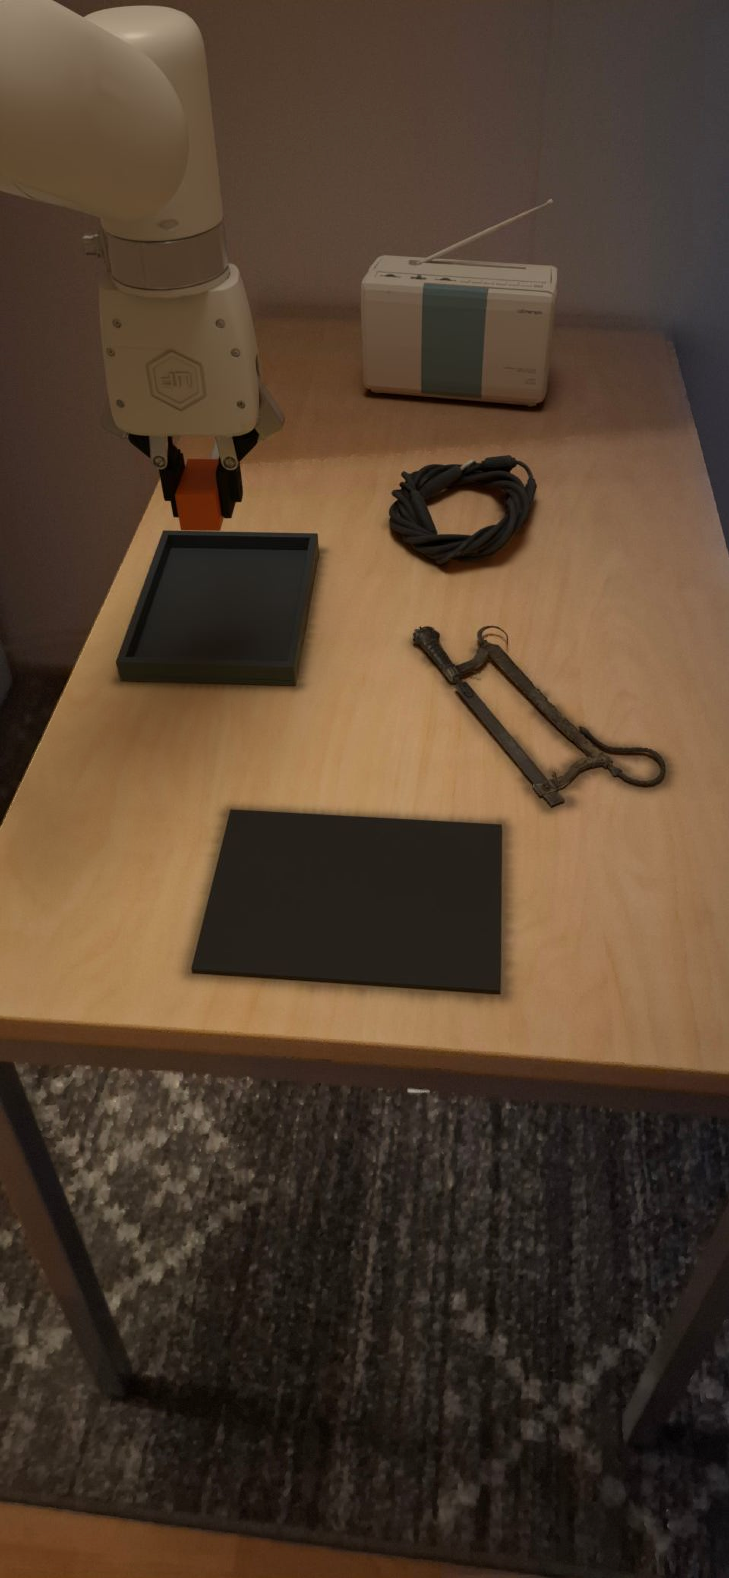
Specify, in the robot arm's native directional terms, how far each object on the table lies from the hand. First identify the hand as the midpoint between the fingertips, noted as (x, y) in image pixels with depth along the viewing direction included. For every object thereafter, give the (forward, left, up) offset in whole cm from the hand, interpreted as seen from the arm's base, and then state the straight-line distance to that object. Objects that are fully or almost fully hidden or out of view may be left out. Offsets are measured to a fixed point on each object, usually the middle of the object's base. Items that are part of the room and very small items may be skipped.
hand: (205, 506), depth 79 cm
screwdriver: (+2, +4, -1) cm, 4 cm away
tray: (+2, +6, -15) cm, 16 cm away
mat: (0, -28, -15) cm, 32 cm away
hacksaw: (+21, -16, -15) cm, 30 cm away
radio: (+39, +35, -15) cm, 54 cm away
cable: (+27, +10, -15) cm, 32 cm away
